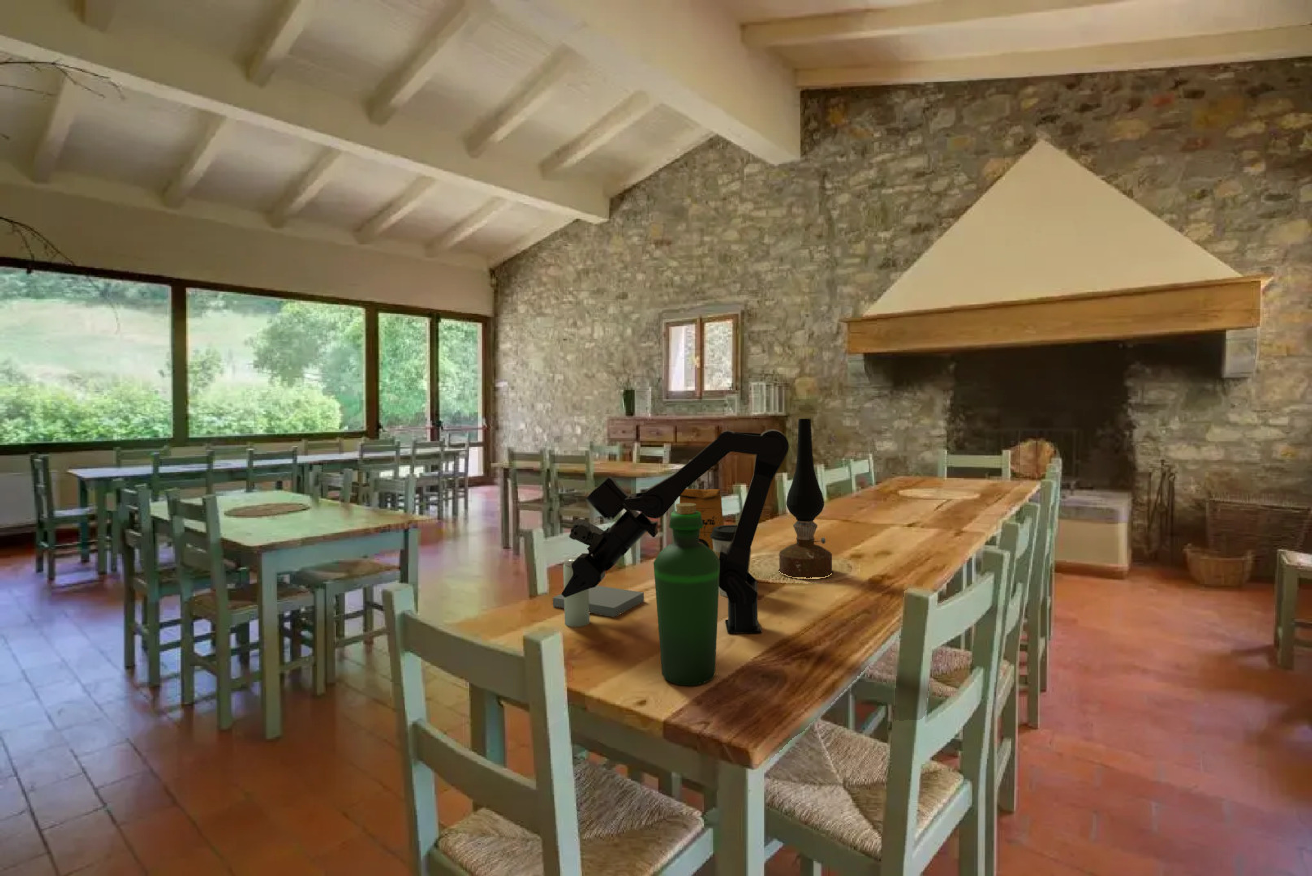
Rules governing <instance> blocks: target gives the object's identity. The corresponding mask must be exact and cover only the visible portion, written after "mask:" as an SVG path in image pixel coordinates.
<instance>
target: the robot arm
mask: <svg viewBox="0 0 1312 876" xmlns="http://www.w3.org/2000/svg"><path fill="white" fill-rule="evenodd" d="M788 440H789V439H787V437H786V436H785V434H784V433H783V432H782V431H780V430H778V429H773V428H772V429H770V428H769V429H766V430H764V431H762V433H760V432H745V431H744V432H742V431H741V432H740V431H733V430H729V429H728V430H724V431H722V432H721V433H720V434H719V435H718V436H717V438H715V440H713V441H712V442H711V443H710V444H708V445H707V446H706V447H705V448H704V449H702V450H701V451H700V452H699V453H698V454H697V455H696V456H694V457H693V458H692V459H690V460H689V461H688V462H687V463H686V464H685V465H683V466H682V467H681V468H680V469H679V470H678V471H676V472H675V473H673V474H671V475H670V476H668V477H666V478H663V480H660V481H659V482H657V483H655V484H654V485H652V486H650V487H649V488H648V489H646V490H645V491H641V492H633V493H630V494H628V493H627V492H626V491H625V490H624V489H623V488H622V487H621V486H620V485H619V484H618V482H617V481H616V480H615V478H614V477H612V476H608V477H607V478H606V479H605V480H604V481H603V482H602V483H601V484H600V485H598V486H597V487H596V488H594V489H593V490H592V492H590V494H589V495H588V496H587V497H586V498H585V501H586V502H587V503H589V504H590V506H592V508H594V510H595V511H596V512H597V513H599V515H601V517H602V518H603V519H604V520H606V519H608V520H610V518H611V519H612V520H614V519H615V518H616V517H618V516H619V514H621V513H622V511H623V510H625V511H624V513H623V514H622V515H620V517H619V518H618V519H617V520H616V521H615V522H614V523H612V525H611V526H610V527H609V526H608V527H607V528H606V529H605V530H604V529H602V528H600V527H599V526H597V525H595V524H593V523H591V522H588V521H587V520H584V519H580V518H579V519H578V520H575V522H574V523H573V526H572V528H570V534H568V537H569V538H570V539H571V540H573V541H577V542H580V543H582V544H583V545H586V546H588V547H587V548H586V550H587V551H588V553H585V552H584V553H581V554H580V555H579V556H577V557H578V558H577V559H576V560H575V561H574V562H573V563H572V564H571V565H572V569H573V576H572V577H571V579H570V581H569V582H568V584H567V585H566V587H565V589H564V588H563V591H562V592H561V594H562V595H563V596H564V597H565V598H566V597H568V596H571V595H573V594H576V593H579V592H581V591H584V590H587V589H590V588H593V587H594V588H595V587H596V586H599V585H598V584H600V582H602V580H603V579H604V578H605V577H606V572H607V571H610V570H611V569H612V568H613V567H614V566H615V565H616V564H617V563H618V562H619V560H620V559H621V558H622V557H623V556H625V554H626V553H627V552H628V551H629V550H630V549H631V548H632V547H633V546H634V545H635V544H636V543H637V542H638V541H639V540H640V539H641V538H642V537H643V536H644V535H645V534H647V533H648V534H649V535H650V536H651V537H652V538H655V537H656V536H657V534H658V532H659V531H658V529H659V528H658V524H659V521H658V520H655V521H654V520H653V521H652V520H651V519H660V518H661V517H663V516H664V515H665V514H666V513H667V512H668V510H669V509H670V508H671V507H672V506H673V504H674V503H675V502H676V501H677V500H678V499H679V498H680V495H681V494H682V493H683V491H684V490H685V489H688V488H689V487H690V486H691V485H692V484H693V483H694V482H696V481H697V480H698V479H700V478H701V477H702V476H703V475H704V474H705V473H706V472H707V471H709V470H710V469H711V468H712V467H714V466H715V465H716V464H717V463H718V462H719V461H721V460H722V459H723V458H725V456H727V455H728V454H729V453H741V454H748V455H755V457H754V458H755V459H754V466H753V474H752V477H751V481H750V484H749V486H748V490H747V494H746V497H745V500H744V503H743V506H742V508H741V509H742V510H741V513H740V516H739V520H738V522H737V524H736V525H737V528H736V531H735V535H734V538H733V540H732V542H731V544H730V545H729V547H728V548H727V547H725V546H723V545H722V546H721V551H720V557H719V560H720V573H719V587H720V588H721V589H722V590H723V591H725V592H726V594H727V596H728V597H727V619H725V620H724V623H725V628H726V632H727V633H728V634H762V627H761V625H760V622H759V618H758V615H759V614H758V612H759V611H758V594H759V593H758V592H759V590H758V589H759V587H758V586H759V585H758V584H759V583H758V580H757V579H756V578H755V577H754V576H753V575H752V574H751V573H750V571H749V572H748V565H749V556H750V548H751V549H752V544H753V541H754V538H755V535H756V531H757V528H758V525H759V522H760V518H761V516H762V513H763V511H764V507H765V503H766V500H767V496H768V495H769V491H770V487H771V484H772V482H773V479H774V478H775V476H776V474H777V473H778V470H779V469H780V467H781V465H782V464H783V462H784V460H785V458H786V456H787V454H788V452H789V447H790V445H789V441H788ZM639 512H640V513H639Z"/></svg>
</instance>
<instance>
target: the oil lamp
mask: <svg viewBox="0 0 1312 876" xmlns="http://www.w3.org/2000/svg"><path fill="white" fill-rule="evenodd" d="M811 420H812V419H811V418H798V425H797V447H796V449H797V451H796V453H797V454H796V463H795V471H794V475H793V479H792V482H791V484H790V485H791V486H790V488H789V490H788V493H787V496H786V502H785V505H786V508H787V510H788V511H789V513H790V514H791V516H793V517H794V518H795V520H796V522H794V523H793V525H792V526H793V527H792V528H793V529H794V532H795V534H796V537H795V538H796V543H793V544H790V545H788V546H787V547H785V548H783V549H781V550H780V551H779V553H778V557H779V558H778V560H779V561H778V562H779V563H778V564H779V568H778V570H777V572H778V571H780V572H781V573H783V574H786V575H788V576H792V577H806V578H810V577H811V578H812V577H825V576H828V575H830V574H831V573H833V574H834V571H833V553H832V552H831V551H830V550H828V549H826V548H824V547H823V546H820V545H818V544H815V543H817V542H821V544H825V543H826V539H825V537H821V539H820V540H815V539H816V538H815V533H816V532H817V531H816V530H817V529H818V524H817V523H816V522H815V521H814V520H815V518H817V517H818V516H819V515H820V514H821V513H822V511H823V510H824V507H825V499H824V495H823V491H822V489H821V487H820V485H819V481H818V477H817V474H816V472H815V466H814V455H813V438H812V422H811ZM780 572H778V573H780Z"/></svg>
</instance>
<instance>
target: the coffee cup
mask: <svg viewBox="0 0 1312 876" xmlns="http://www.w3.org/2000/svg"><path fill="white" fill-rule="evenodd" d="M737 525H738V524H724V525H722V526H717V527H714V528H713V532H712V533H711V536H710V537H711V538H712V540H713V551H714V552H715V554H716V555H717V557H718V558H719V557H720V551H721V546H722V545H723V546H725V547H727V548H728V547H729V545H730V544H731V542H732V540H733V538H734V535H735V531H736V528H737ZM751 555H752V547H751V548H750V556H749V565H748V572H749V573H750V566H751ZM719 595H720V596H722V597H726V598H728V596H727V594H726V592H725V591H723V590H722V589H721V588H720V587H719Z"/></svg>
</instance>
